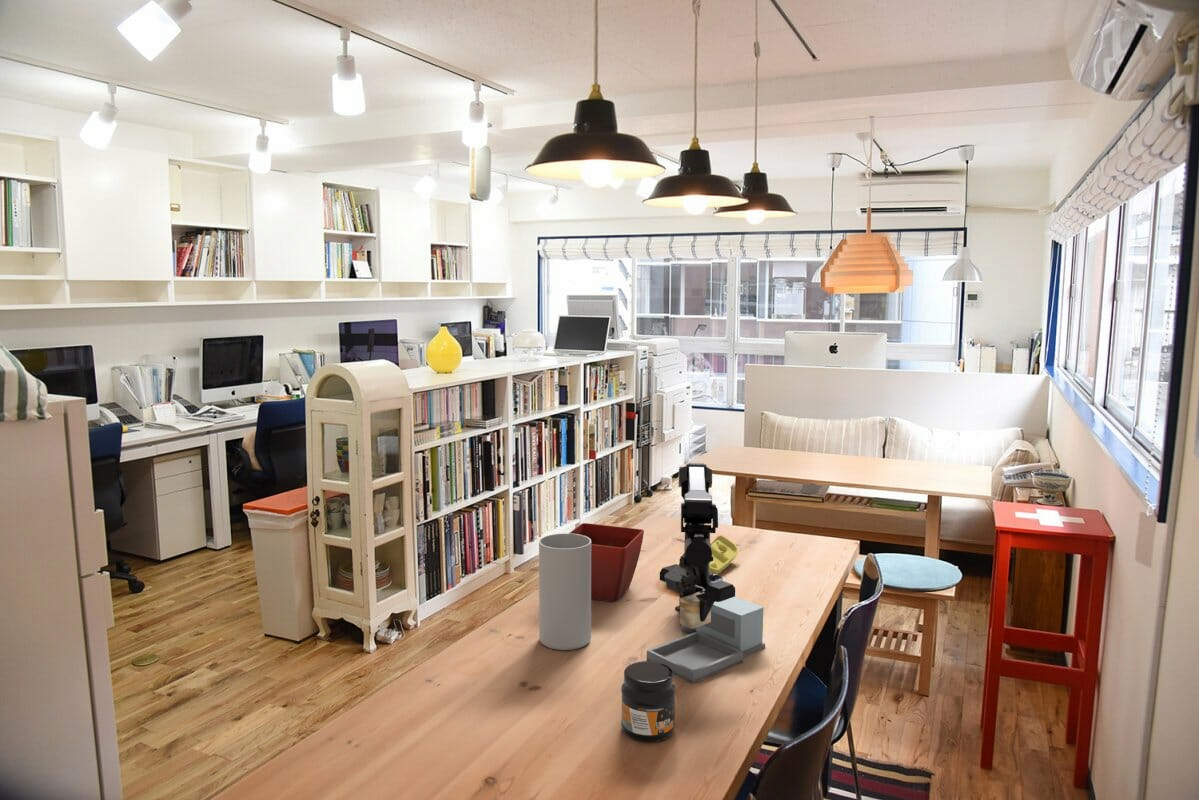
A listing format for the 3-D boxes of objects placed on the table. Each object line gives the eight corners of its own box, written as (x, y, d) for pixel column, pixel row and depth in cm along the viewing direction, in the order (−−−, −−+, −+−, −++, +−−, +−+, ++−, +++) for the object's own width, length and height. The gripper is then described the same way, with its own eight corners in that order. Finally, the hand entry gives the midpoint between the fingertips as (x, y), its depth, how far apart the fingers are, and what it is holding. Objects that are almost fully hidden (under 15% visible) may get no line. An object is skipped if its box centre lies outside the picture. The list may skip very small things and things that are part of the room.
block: (679, 623, 191) (679, 598, 190) (697, 616, 195) (698, 591, 194) (692, 628, 188) (693, 603, 187) (711, 622, 192) (711, 597, 191)
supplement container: (635, 749, 156) (636, 688, 154) (612, 722, 165) (612, 665, 164) (685, 737, 160) (686, 678, 158) (659, 712, 169) (660, 655, 168)
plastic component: (716, 571, 247) (689, 552, 251) (706, 590, 250) (679, 571, 254) (743, 549, 263) (717, 531, 267) (734, 567, 266) (708, 549, 270)
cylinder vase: (599, 635, 206) (599, 537, 203) (576, 655, 195) (576, 551, 192) (554, 626, 212) (554, 530, 208) (529, 645, 200) (529, 544, 197)
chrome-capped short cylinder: (677, 629, 210) (677, 610, 210) (689, 625, 213) (690, 606, 212) (690, 635, 207) (690, 616, 206) (702, 630, 210) (702, 611, 209)
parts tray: (646, 660, 193) (646, 650, 192) (696, 641, 203) (696, 631, 203) (692, 683, 182) (693, 672, 181) (743, 662, 192) (743, 651, 192)
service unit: (693, 637, 206) (694, 598, 204) (718, 627, 211) (718, 589, 210) (740, 657, 194) (741, 616, 193) (765, 647, 200) (766, 607, 199)
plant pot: (644, 585, 242) (645, 528, 239) (624, 609, 224) (625, 548, 221) (582, 577, 248) (582, 522, 245) (558, 600, 230) (558, 540, 228)
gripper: (642, 549, 191) (641, 614, 193) (703, 570, 177) (701, 641, 179) (677, 540, 198) (676, 603, 200) (737, 559, 184) (735, 627, 186)
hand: (695, 618), depth 191 cm, fingers closed on block, 4 cm apart
